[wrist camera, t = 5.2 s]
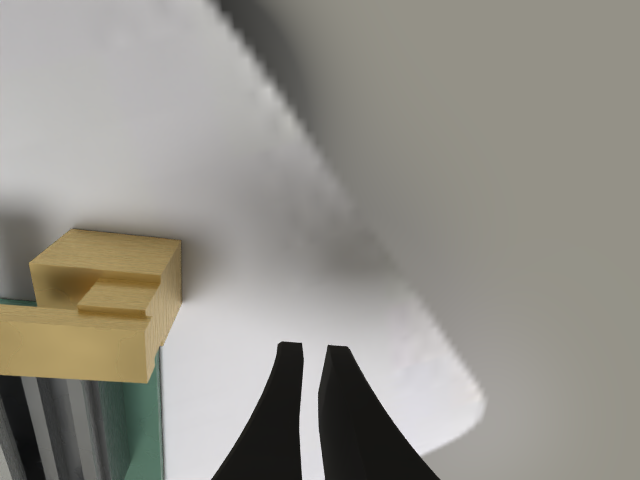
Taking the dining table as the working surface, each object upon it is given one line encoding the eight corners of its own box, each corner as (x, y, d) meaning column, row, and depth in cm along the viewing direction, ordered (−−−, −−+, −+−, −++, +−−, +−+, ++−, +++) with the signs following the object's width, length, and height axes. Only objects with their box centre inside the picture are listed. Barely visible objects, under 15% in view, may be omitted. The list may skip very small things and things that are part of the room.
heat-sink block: (-138, 287, 15) (-232, 339, 12) (157, 311, 16) (130, 362, 14) (-58, 474, 20) (-113, 540, 17) (163, 481, 21) (145, 543, 18)
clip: (57, 227, 14) (-44, 302, 10) (186, 240, 15) (143, 317, 11) (67, 294, 16) (-18, 386, 11) (186, 304, 16) (148, 395, 12)
